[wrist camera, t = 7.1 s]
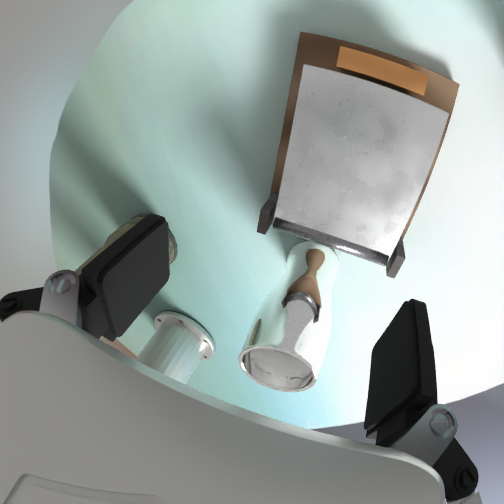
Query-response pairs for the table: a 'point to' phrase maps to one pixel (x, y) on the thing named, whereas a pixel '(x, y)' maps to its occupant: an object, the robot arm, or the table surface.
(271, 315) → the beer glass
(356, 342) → the table surface
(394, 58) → the plate
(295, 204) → the grey marble tile
